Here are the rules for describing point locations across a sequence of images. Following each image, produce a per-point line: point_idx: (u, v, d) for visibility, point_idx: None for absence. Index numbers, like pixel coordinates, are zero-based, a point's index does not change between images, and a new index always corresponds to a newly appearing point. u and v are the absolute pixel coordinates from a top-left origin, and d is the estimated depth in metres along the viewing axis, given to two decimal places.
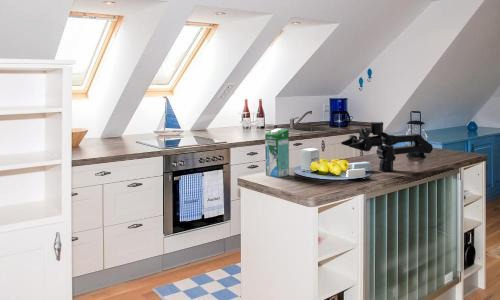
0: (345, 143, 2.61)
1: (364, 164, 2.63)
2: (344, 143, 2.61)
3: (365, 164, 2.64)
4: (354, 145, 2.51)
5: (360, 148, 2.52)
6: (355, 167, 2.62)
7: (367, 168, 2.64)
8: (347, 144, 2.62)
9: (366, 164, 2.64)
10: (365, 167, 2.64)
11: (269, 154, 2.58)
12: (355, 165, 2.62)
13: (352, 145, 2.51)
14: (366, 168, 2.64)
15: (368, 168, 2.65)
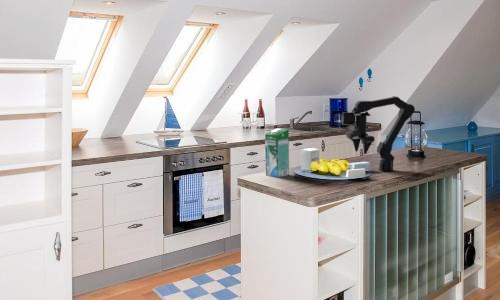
0: (357, 146, 2.68)
1: (364, 164, 2.63)
2: (356, 148, 2.68)
3: (365, 164, 2.64)
4: (365, 149, 2.58)
5: (369, 144, 2.57)
6: (355, 167, 2.62)
7: (367, 168, 2.64)
8: (358, 144, 2.68)
9: (366, 164, 2.64)
10: (365, 167, 2.64)
11: (269, 154, 2.58)
12: (355, 165, 2.62)
13: (365, 151, 2.59)
14: (366, 168, 2.64)
15: (368, 168, 2.65)
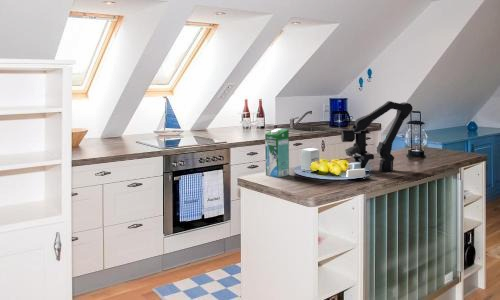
0: None
1: None
2: None
3: None
4: (363, 166, 2.62)
5: (366, 161, 2.61)
6: (355, 167, 2.62)
7: (367, 168, 2.64)
8: None
9: (366, 164, 2.64)
10: (365, 167, 2.64)
11: (269, 154, 2.58)
12: (355, 165, 2.62)
13: (362, 168, 2.63)
14: (366, 168, 2.64)
15: (368, 168, 2.65)
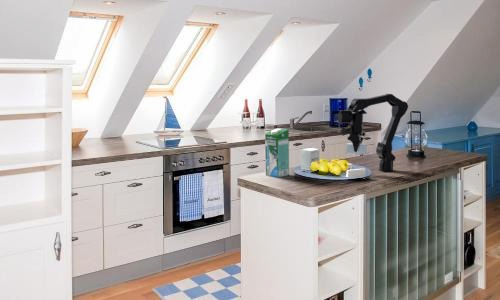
0: None
1: None
2: None
3: (359, 146, 2.56)
4: (355, 147, 2.56)
5: (358, 142, 2.54)
6: (348, 147, 2.59)
7: (361, 150, 2.56)
8: None
9: (360, 146, 2.56)
10: (359, 149, 2.57)
11: (269, 154, 2.58)
12: (348, 145, 2.59)
13: (355, 149, 2.57)
14: (360, 150, 2.57)
15: (363, 150, 2.56)
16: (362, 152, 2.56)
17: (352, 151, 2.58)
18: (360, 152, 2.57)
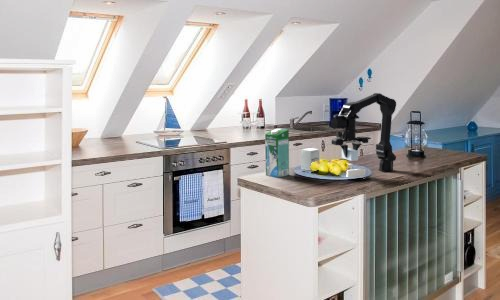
0: None
1: None
2: None
3: (348, 151, 2.50)
4: (344, 152, 2.52)
5: (344, 147, 2.50)
6: (342, 151, 2.56)
7: (349, 156, 2.49)
8: None
9: (348, 152, 2.50)
10: (348, 154, 2.51)
11: (269, 154, 2.58)
12: (342, 149, 2.56)
13: (344, 154, 2.52)
14: (348, 156, 2.50)
15: (350, 156, 2.49)
16: (349, 158, 2.49)
17: (344, 156, 2.54)
18: (348, 158, 2.50)
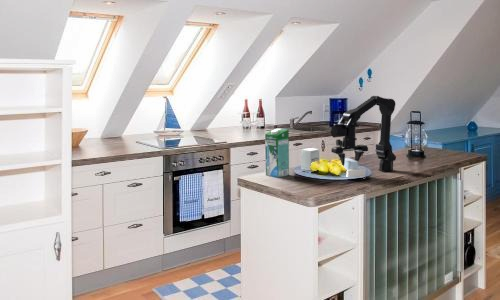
0: (356, 160, 2.54)
1: (347, 161, 2.52)
2: None
3: (347, 162, 2.51)
4: (341, 161, 2.52)
5: (341, 156, 2.50)
6: None
7: (349, 167, 2.50)
8: (357, 158, 2.53)
9: (348, 162, 2.51)
10: (347, 165, 2.52)
11: (269, 154, 2.58)
12: None
13: (342, 163, 2.53)
14: (348, 166, 2.51)
15: (349, 167, 2.50)
16: (349, 169, 2.50)
17: (344, 166, 2.55)
18: (348, 168, 2.51)
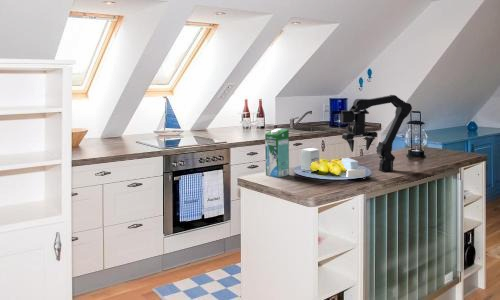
0: (367, 145, 2.62)
1: (347, 161, 2.52)
2: (367, 146, 2.63)
3: (347, 162, 2.51)
4: (350, 147, 2.60)
5: (351, 142, 2.57)
6: (342, 162, 2.57)
7: (349, 167, 2.50)
8: (368, 143, 2.62)
9: (348, 162, 2.51)
10: (347, 165, 2.52)
11: (269, 154, 2.58)
12: (342, 160, 2.57)
13: (351, 149, 2.60)
14: (348, 166, 2.51)
15: (349, 167, 2.50)
16: (349, 169, 2.50)
17: (344, 166, 2.55)
18: (348, 168, 2.51)
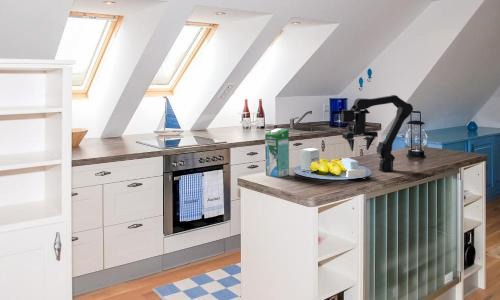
0: (367, 145, 2.63)
1: (347, 161, 2.52)
2: (367, 146, 2.63)
3: (347, 162, 2.51)
4: (350, 146, 2.60)
5: (351, 141, 2.58)
6: (342, 162, 2.57)
7: (349, 167, 2.50)
8: (368, 143, 2.62)
9: (348, 162, 2.51)
10: (347, 165, 2.52)
11: (269, 154, 2.58)
12: (342, 160, 2.57)
13: (351, 148, 2.61)
14: (348, 166, 2.51)
15: (349, 167, 2.50)
16: (349, 169, 2.50)
17: (344, 166, 2.55)
18: (348, 168, 2.51)
